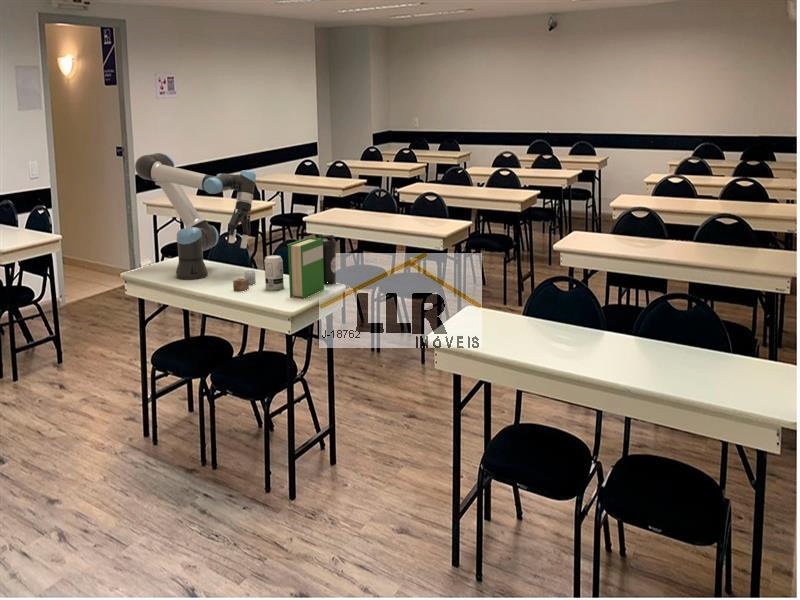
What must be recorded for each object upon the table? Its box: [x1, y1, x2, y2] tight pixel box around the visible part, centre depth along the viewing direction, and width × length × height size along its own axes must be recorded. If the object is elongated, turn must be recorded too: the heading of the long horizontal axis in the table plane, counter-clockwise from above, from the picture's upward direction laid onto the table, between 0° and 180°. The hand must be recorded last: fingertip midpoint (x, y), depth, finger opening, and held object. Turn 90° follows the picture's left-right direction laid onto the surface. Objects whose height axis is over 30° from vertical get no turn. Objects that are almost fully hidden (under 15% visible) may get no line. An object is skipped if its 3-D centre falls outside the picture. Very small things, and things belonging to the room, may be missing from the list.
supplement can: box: [264, 254, 285, 291], centre depth 343 cm, size 8×8×15 cm
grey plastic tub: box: [243, 270, 257, 286], centre depth 352 cm, size 5×5×6 cm
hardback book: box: [287, 236, 325, 299], centre depth 333 cm, size 18×7×24 cm, turn 156°
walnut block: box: [232, 277, 250, 292], centre depth 341 cm, size 5×5×5 cm
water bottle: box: [316, 234, 338, 286], centre depth 352 cm, size 10×10×23 cm
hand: (237, 245), depth 358 cm, fingers open, 13 cm apart
